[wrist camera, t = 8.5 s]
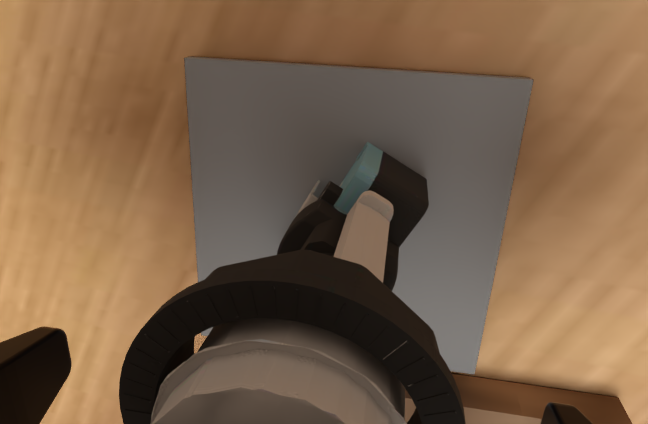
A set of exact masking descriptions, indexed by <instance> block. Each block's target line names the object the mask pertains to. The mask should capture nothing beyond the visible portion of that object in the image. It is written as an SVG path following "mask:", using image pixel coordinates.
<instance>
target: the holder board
mask: <svg viewBox="0 0 648 424" xmlns="http://www.w3.org/2000/svg"><path fill="white" fill-rule="evenodd" d="M452 375H453V377H454V379H455V382H456V384H457V387H458V390H459V392H460V395H461V400H462V404H463V408H464V415H465V422H466V424H541V420H542V417H543V413H544V410H545V407H546V405H547V404H548V403H550V402H557V403H563V404H570V405H573V406H575V407H576V408H578V409H579V410H580V411H581V412H582V413H583V414H584V415H585V416H586V417H587V418H588V419H589V420H590V421H591V422H592V423H593V424H632V422H631V420H630V419H629V417H628V415H627V413H626V411H625V409H624V407H623V406H622V404H621V402H620V400H619V398H617V397H610V396H603V395H597V394H590V393H583V392H576V391H569V390H562V389H555V388H548V387H541V386H534V385H527V384H521V383H514V382H507V381H500V380H493V379H486V378H479V377H472V376H465V375H458V374H452ZM415 409H416V406H415V404H414V402H413V400H412V398H411V397H410V395H409V394H408V392H407V391H406V389H405V422H406V423H407V422H408V421H409V419H410V418H411V416H412V415H413V413H414V411H415Z"/></svg>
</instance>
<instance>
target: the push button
mask: <svg viewBox="0 0 648 424" xmlns="http://www.w3.org/2000/svg"><path fill="white" fill-rule="evenodd" d="M319 183H320V181H319V180H318V181H317V183H316V184H315V186H314V187H313V189H312V191H311V192H310V194H309V195H308V197H307V198H306V200H305V202H304V203H303V205H302V206H301V208H300V210H299V212H298V213H297V215H296V217H295V218H294V220H293V221H292V223H291V224H290V226H289V228H288V230H287V231H286V233H285V235H284V237H283V238H282V240H281V242H280V245H279V248H278V251H277V255H273V256H269V257H264V258H259V259H254V260H249V261H245V262H240V263H235V264H230V265H226V266H221V267H218V268H217V269H215V270H214V271H212V273H211V274H210V275H209V276H208V277H207V278H206V279H205V280H202V281H200V282H198V283H196V284H194V285H192V286H189V287H187V288H186V289H184V290H183V291H181V292H179V293H178V294H176V295H175V296H173V297H172V298H171V299H170V300H169V301H167V302H166V303H165V304H164V305H162V306H161V308H160V309H159V310H158V311H157V312H156V313H155V314H154V315H153V316H152V317H151V319H150V320H149V321H148V322H147V323H146V324H145V326H144V327H143V328H142V329H141V330H140V332H139V333H138V335H137V336H136V338H135V339H134V340H133V342H132V344H131V346H130V348H129V350H128V352H127V354H126V357H125V360H124V363H123V366H122V371H121V377H120V386H119V399H120V409H121V414H122V418H123V423H124V424H466V422H465V415H464V408H463V404H462V400H461V395H460V392H459V390H458V387H457V384H456V382H455V379H454V377H453V375H452V373H451V371H450V369H449V368H448V366H447V364H446V362H445V361H444V359H443V358H442V356H441V355H440V352H439V348H438V345H437V341H436V337H435V334H434V332H433V330H432V329H431V328H430V326H429V325H428V324H426V323H425V322H424V321H423V320H422V319H421V318H420V317H419V316H418V315H417V314H416V313H415V312H414V311H412V310H411V309H410V308H409V307H408V306H407V305H406V304H405V303H404V302H403V301H402V300H401V299H400V298H399V297H397V296H396V295H395V294H394V293H393V292H392V290H393V288H394V285H395V282H396V279H397V273H398V258H399V247H400V246H401V244H402V243H403V242H404V241H405V239H406V238H407V237H408V235H409V234H410V233H411V232H412V230H413V229H414V228H415V226H416V225H417V224H418V222H419V221H420V220H421V219H422V217H423V216H424V214H425V213H426V211H427V209H428V206H429V200H428V188H427V179H426V178H424V177H423V176H421V175H420V174H418V173H417V172H415V171H413V170H412V169H410V168H409V167H407V166H406V165H404V164H402V163H401V162H399V161H398V160H396V159H395V158H393V157H391V156H390V155H388V154H387V153H385V152H384V151H382V150H380V149H378V148H377V147H375V146H374V145H372V144H371V143H369V142H367V143H366V144H365V146H364V147H363V149H362V150H361V152H360V153H359V155H358V156H357V158H356V161H355V163H354V164H353V166H352V167H351V169H350V170H349V172H348V173H347V175H346V176H345V178H344V179H343V181H342V183H341V184H340V186H338V185H336V184H335V183H333V182H331V181H329V182H328V184H327V185H326V187H325V188H324V190H323V191H322V193H321V195H320V196H319V198H317V197H315V196H314V195H313V193H314V192H315V190H316V188H317V186H318V185H319ZM212 327H213V328H212ZM209 328H212V330H211V332H210V333H209V335H208V336H207V338H206V339H205V341H204V343H203V344H202V346H201V347H200V349H199V350H198V352H197V353H195V354H194V337H195V335H197V334H199V333H201V332H203V331H205V330H207V329H209ZM405 389H406V391H407V392H408V394H409V395H410V397H411V398H412V400H413V402H414V404H415V406H416V409H415V411H414V413H413V415H412V416H411V418H410V419H409V421H408V422H407V423H406V422H405Z"/></svg>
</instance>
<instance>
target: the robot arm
mask: <svg viewBox="0 0 648 424" xmlns="http://www.w3.org/2000/svg"><path fill="white" fill-rule="evenodd" d="M70 370H71V357H70V352H69V347H68V342H67V337H66V334H65V332H64V331H63V330H61V329H58V328H51V327H39V328H37V329H34V330H32V331H29V332H26V333H24V334H21V335H19V336H16V337H14V338H11V339H9V340H6V341H3V342H1V343H0V424H40V422H41V420H42V419H43V417H44V415H45V414H46V412H47V410H48V409H49V407H50V405H51V404H52V402H53V400H54V399H55V397H56V396H57V394H58V392H59V391H60V389H61V387H62V386H63V384H64V382H65V381H66V379H67V377H68V375H69V373H70ZM541 424H593V423H592V422H591V421H590V420H589V419H588V418H587V417H586V416H585V415H584V414H583V413H582V412H581V411H580V410H579V409H578V408H576V407H575V406H573V405H570V404H563V403H557V402H550V403H548V404H547V405H546V407H545V410H544V413H543V417H542V420H541Z"/></svg>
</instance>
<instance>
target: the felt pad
mask: <svg viewBox="0 0 648 424" xmlns="http://www.w3.org/2000/svg"><path fill="white" fill-rule="evenodd" d="M184 61H185V77H186V94H187V110H188V126H189V142H190V158H191V175H192V191H193V207H194V223H195V239H196V256H197V272H198V282H200V281H202V280H205V279H206V278H207V277H208V276H209V275H210V274H211V273H212V271H214V270H215V269H217V268H218V267H221V266H226V265H230V264H235V263H240V262H245V261H249V260H254V259H259V258H264V257H269V256H273V255H277V251H278V248H279V245H280V242H281V240H282V238H283V237H284V235H285V233H286V231H287V230H288V228H289V226H290V224H291V223H292V221H293V220H294V218H295V217H296V215H297V213H298V212H299V210H300V208H301V206H302V205H303V203H304V202H305V200H306V198H307V197H308V195H309V194H310V192H311V191H312V189H313V187H314V186H315V184H316V183H317V181H318V180H319V181H320V183H319V185H318V186H317V188H316V190H315V192H314V193H313V195H314V196H315V197H317V198H319V196H320V195H321V193H322V191H323V190H324V188H325V187H326V185H327V184H328V182H329V181H331V182H333V183H335V184H336V185H338V186H340V184H341V183H342V181H343V179H344V178H345V176H346V175H347V173H348V172H349V170H350V169H351V167H352V166H353V164H354V163H355V161H356V158H357V156H358V155H359V153H360V152H361V150H362V149H363V147H364V146H365V144H366V143H367V142H369V143H371V144H372V145H374V146H375V147H377V148H378V149H380V150H382V151H384V152H385V153H387V154H388V155H390V156H391V157H393V158H395V159H396V160H398V161H399V162H401V163H402V164H404V165H406V166H407V167H409V168H410V169H412V170H413V171H415V172H417V173H418V174H420V175H421V176H423V177H424V178H426V179H427V188H428V200H429V206H428V209H427V211H426V213H425V214H424V216H423V217H422V219H421V220H420V221H419V222H418V224H417V225H416V226H415V228H414V229H413V230H412V232H411V233H410V234H409V235H408V237H407V238H406V239H405V241H404V242H403V243H402V244H401V246H400V247H399V258H398V273H397V279H396V282H395V285H394V288H393V290H392V292H393V293H394V294H395V295H396V296H397V297H399V298H400V299H401V300H402V301H403V302H404V303H405V304H406V305H407V306H408V307H409V308H410V309H411V310H412V311H414V312H415V313H416V314H417V315H418V316H419V317H420V318H421V319H422V320H423V321H424V322H425V323H426V324H428V325H429V326H430V328H431V329H432V330H433V332H434V334H435V337H436V341H437V345H438V348H439V352H440V355H441V356H442V358H443V359H444V361H445V362H446V364H447V366H448V368H449V369H450V371H454V372H460V373H467V374H475V369H476V364H477V359H478V354H479V349H480V344H481V339H482V334H483V329H484V324H485V319H486V314H487V309H488V304H489V299H490V294H491V289H492V284H493V280H494V275H495V270H496V265H497V260H498V255H499V250H500V245H501V240H502V235H503V230H504V225H505V220H506V215H507V210H508V205H509V200H510V195H511V190H512V185H513V180H514V175H515V170H516V165H517V160H518V155H519V150H520V145H521V140H522V135H523V130H524V125H525V120H526V115H527V110H528V105H529V100H530V95H531V90H532V85H533V79H531V78H526V77H510V76H494V75H478V74H462V73H446V72H430V71H414V70H398V69H382V68H366V67H350V66H334V65H318V64H302V63H287V62H271V61H255V60H239V59H223V58H207V57H186V58H184ZM212 328H213V327H212ZM212 328H209V329H207V330H205V331H203V332H201V335H204V336H208V335H209V333H210V332H211V330H212Z"/></svg>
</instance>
